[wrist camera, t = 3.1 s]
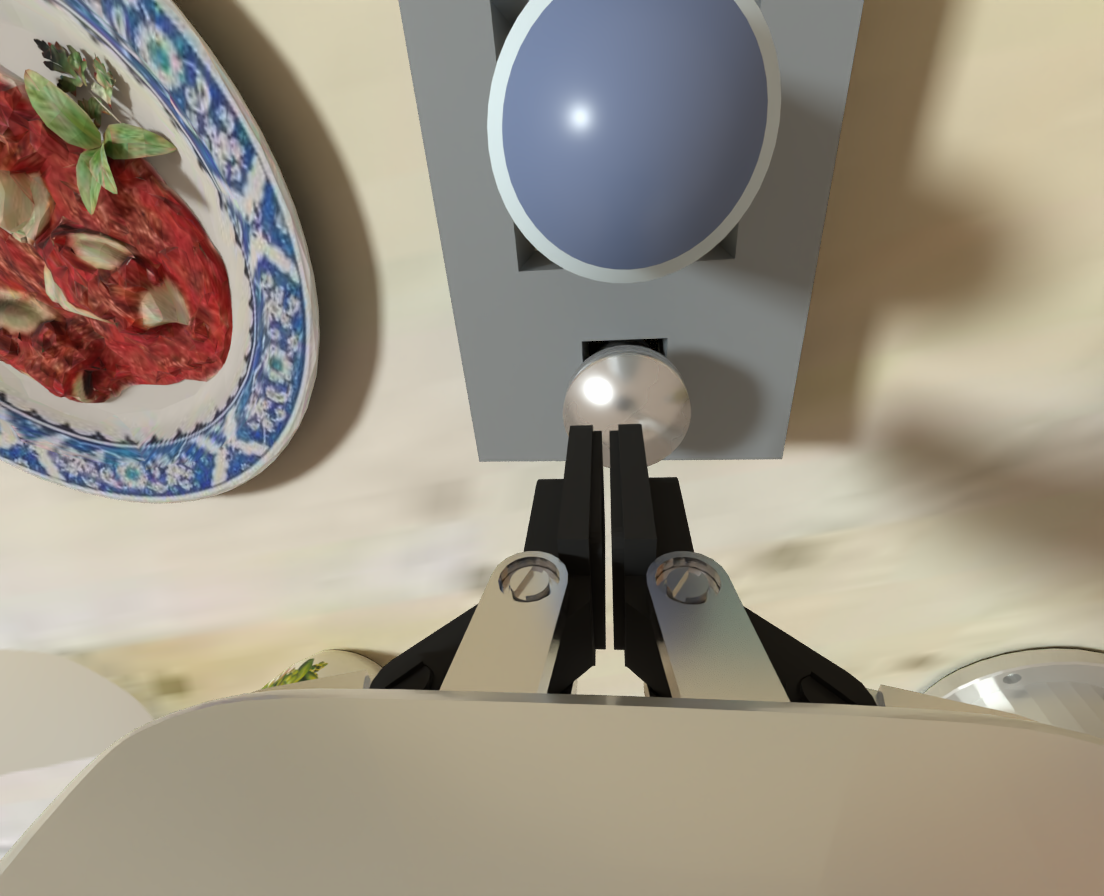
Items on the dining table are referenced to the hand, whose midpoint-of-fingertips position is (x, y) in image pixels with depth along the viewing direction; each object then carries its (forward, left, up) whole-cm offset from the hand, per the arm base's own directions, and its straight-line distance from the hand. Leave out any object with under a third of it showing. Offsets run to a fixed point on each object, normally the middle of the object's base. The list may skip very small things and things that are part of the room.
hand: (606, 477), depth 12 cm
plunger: (-1, +1, -9) cm, 9 cm away
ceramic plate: (+24, -5, -12) cm, 28 cm away
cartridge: (-1, -7, -11) cm, 13 cm away
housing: (-1, -4, -11) cm, 12 cm away
